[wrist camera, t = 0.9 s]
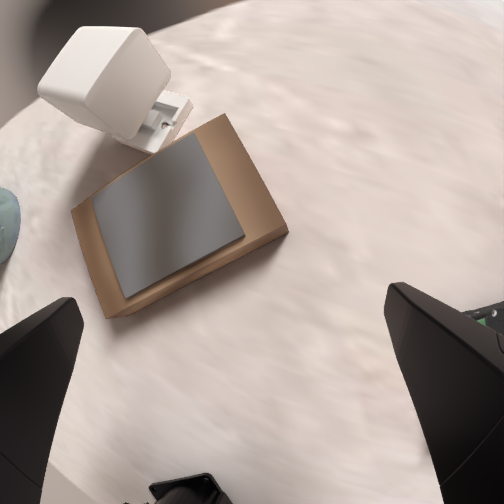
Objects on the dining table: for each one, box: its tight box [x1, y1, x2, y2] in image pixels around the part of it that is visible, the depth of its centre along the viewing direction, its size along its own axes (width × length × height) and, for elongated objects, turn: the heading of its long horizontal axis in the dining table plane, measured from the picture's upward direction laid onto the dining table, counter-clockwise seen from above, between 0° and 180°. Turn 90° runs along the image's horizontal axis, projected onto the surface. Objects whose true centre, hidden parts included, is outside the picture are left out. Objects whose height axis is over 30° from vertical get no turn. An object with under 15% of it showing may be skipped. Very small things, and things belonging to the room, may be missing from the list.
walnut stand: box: [71, 113, 289, 319], centre depth 22 cm, size 14×9×4 cm, turn 116°
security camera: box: [37, 27, 193, 155], centre depth 21 cm, size 6×7×10 cm
